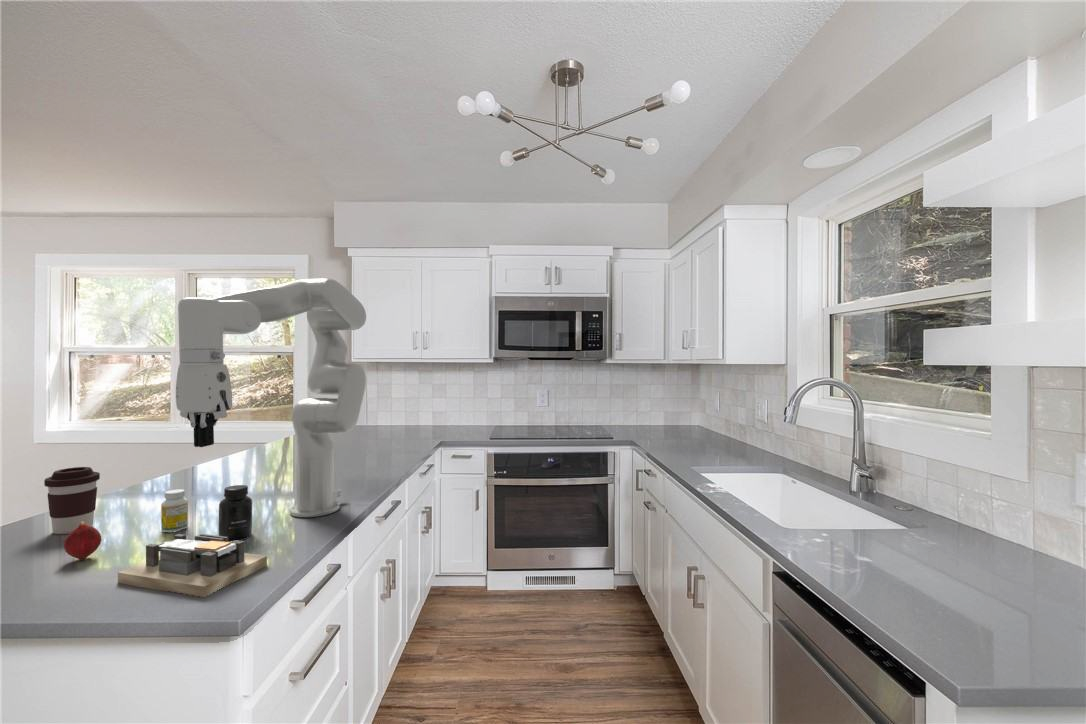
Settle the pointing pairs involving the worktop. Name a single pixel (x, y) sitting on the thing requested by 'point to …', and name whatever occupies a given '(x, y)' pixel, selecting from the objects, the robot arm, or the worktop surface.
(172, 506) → the supplement bottle
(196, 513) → the worktop surface
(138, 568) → the heatsink base
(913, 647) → the worktop surface
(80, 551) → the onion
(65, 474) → the coffee cup
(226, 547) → the strap
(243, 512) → the supplement bottle
